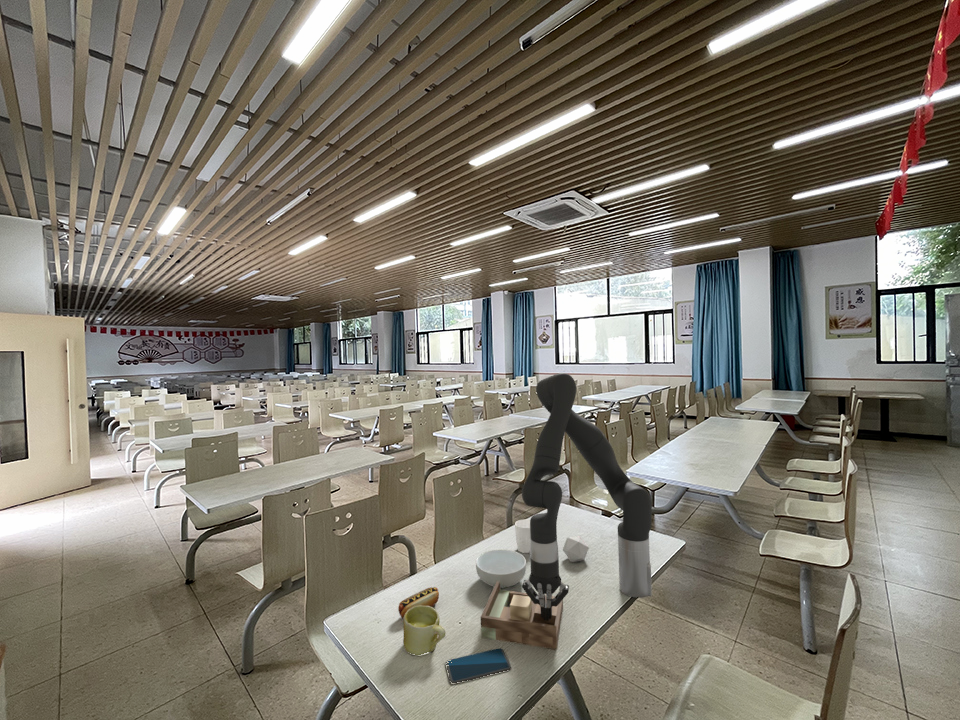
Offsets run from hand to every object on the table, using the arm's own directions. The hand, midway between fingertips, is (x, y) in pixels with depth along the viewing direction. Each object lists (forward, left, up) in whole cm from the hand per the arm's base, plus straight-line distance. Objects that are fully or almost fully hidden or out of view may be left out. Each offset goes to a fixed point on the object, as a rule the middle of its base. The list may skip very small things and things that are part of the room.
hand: (546, 618), depth 113 cm
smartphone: (+15, +15, -5) cm, 22 cm away
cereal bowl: (+18, -23, -4) cm, 29 cm away
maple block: (+7, 0, -1) cm, 7 cm away
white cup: (+14, -47, -4) cm, 49 cm away
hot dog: (+38, -2, -4) cm, 38 cm away
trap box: (+7, -4, -4) cm, 9 cm away
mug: (+30, +12, -4) cm, 33 cm away
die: (-5, -43, -4) cm, 43 cm away
